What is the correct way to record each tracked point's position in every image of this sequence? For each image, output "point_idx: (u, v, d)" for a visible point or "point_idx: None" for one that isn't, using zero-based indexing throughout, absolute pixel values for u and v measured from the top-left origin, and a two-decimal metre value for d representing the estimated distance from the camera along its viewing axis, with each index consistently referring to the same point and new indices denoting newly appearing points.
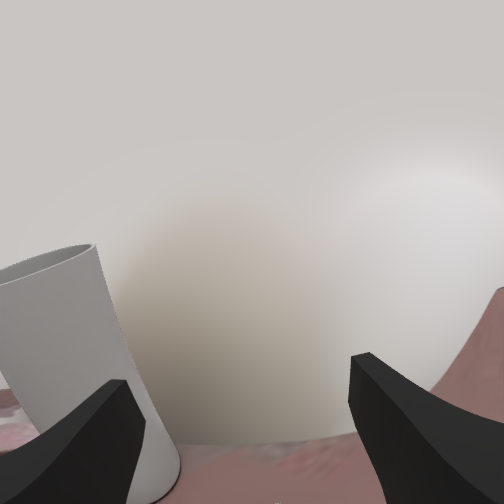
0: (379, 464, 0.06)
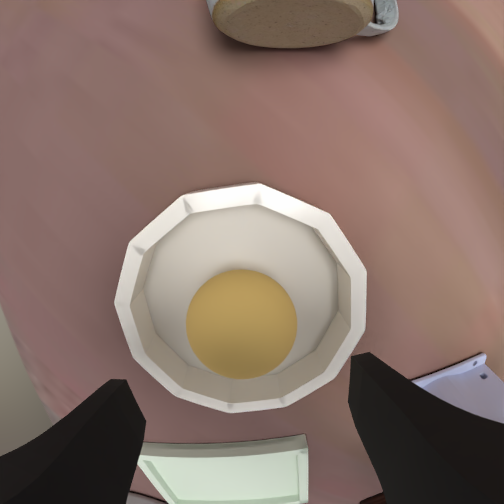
0: (379, 464, 0.06)
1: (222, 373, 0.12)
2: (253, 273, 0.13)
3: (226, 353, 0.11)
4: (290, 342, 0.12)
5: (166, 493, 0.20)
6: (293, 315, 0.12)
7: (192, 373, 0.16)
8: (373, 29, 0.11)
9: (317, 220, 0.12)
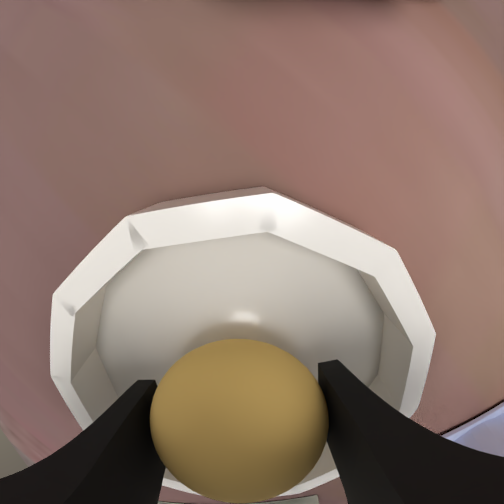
0: (343, 474, 0.06)
1: (210, 497, 0.06)
2: (259, 355, 0.07)
3: (214, 490, 0.05)
4: (319, 457, 0.06)
5: None
6: (325, 420, 0.06)
7: None
8: None
9: (375, 261, 0.07)
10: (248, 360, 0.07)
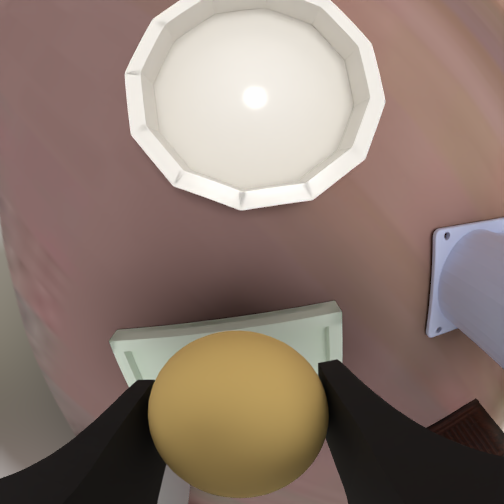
0: (343, 474, 0.06)
1: None
2: (263, 347, 0.07)
3: (212, 483, 0.05)
4: (318, 453, 0.06)
5: None
6: (326, 415, 0.06)
7: (196, 172, 0.14)
8: None
9: (319, 1, 0.10)
10: (253, 351, 0.07)
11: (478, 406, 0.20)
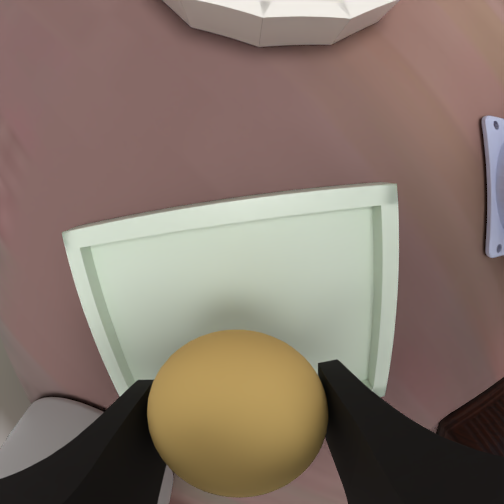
0: (343, 474, 0.06)
1: None
2: (265, 346, 0.07)
3: (211, 482, 0.05)
4: (317, 453, 0.06)
5: (119, 373, 0.13)
6: (326, 415, 0.06)
7: None
8: None
9: None
10: (254, 350, 0.07)
11: None
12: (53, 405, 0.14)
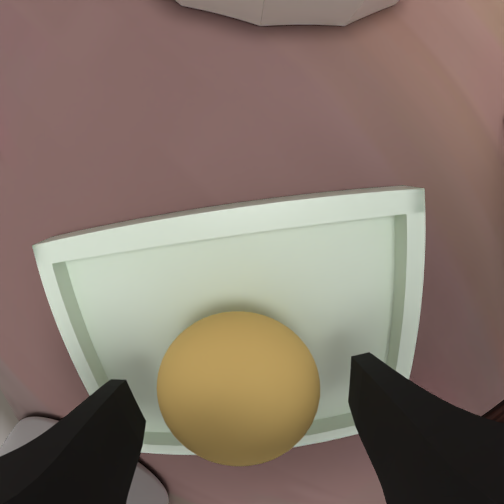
0: (379, 464, 0.06)
1: None
2: (263, 323, 0.08)
3: (215, 446, 0.06)
4: (310, 424, 0.07)
5: None
6: (318, 388, 0.07)
7: None
8: None
9: None
10: (253, 326, 0.08)
11: None
12: (39, 426, 0.11)
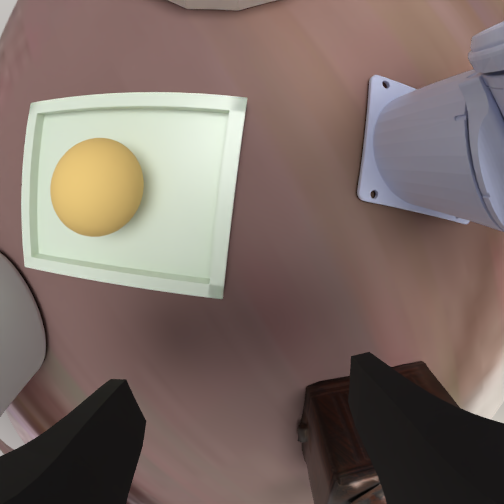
0: (379, 464, 0.06)
1: (59, 212, 0.11)
2: (118, 142, 0.13)
3: (63, 186, 0.11)
4: (119, 203, 0.12)
5: (28, 211, 0.15)
6: (132, 182, 0.12)
7: None
8: None
9: None
10: (112, 140, 0.12)
11: (425, 369, 0.19)
12: None
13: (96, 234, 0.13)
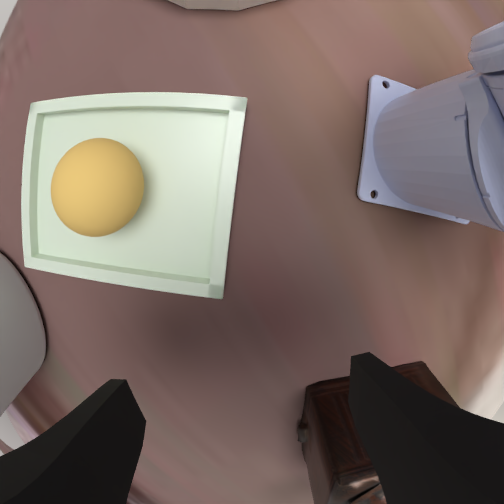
0: (379, 464, 0.06)
1: (59, 213, 0.11)
2: (119, 142, 0.13)
3: (64, 186, 0.11)
4: (120, 203, 0.12)
5: (28, 211, 0.15)
6: (132, 182, 0.12)
7: None
8: None
9: None
10: (112, 140, 0.12)
11: (425, 369, 0.19)
12: None
13: (97, 234, 0.13)
